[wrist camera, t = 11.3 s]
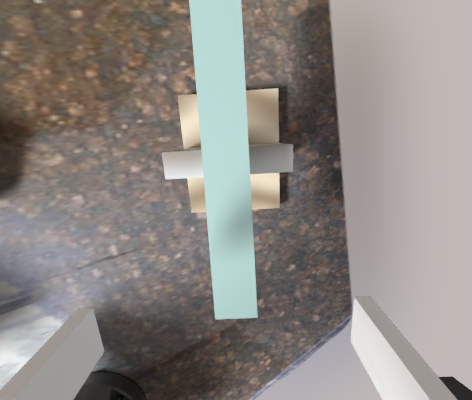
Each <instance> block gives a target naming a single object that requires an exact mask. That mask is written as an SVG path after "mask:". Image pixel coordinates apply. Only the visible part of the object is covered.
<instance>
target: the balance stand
mask: <svg viewBox="0 0 472 400" xmlns="http://www.w3.org/2000/svg"><path fill="white" fill-rule="evenodd" d="M178 103H179V112H180V120H181V128H182V137H183V145H184V149H181V150H174V151H168V152H162V158H163V165H164V172H165V179H180V178H187V179H188V187H189V196H190V204H191V213H195V212H206V201H205V188H204V176H203V164H202V151H201V139H200V126H199V114H198V102H197V94H189V95H178ZM246 104H247V123H248V143H249V162H250V181H251V200H252V209H269V208H280V182H279V173H281V172H293V144H284V143H279V102H278V88H273V89H259V90H246Z"/></svg>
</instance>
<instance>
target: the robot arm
mask: <svg viewBox="0 0 472 400" xmlns="http://www.w3.org/2000/svg"><path fill="white" fill-rule="evenodd" d="M351 344H352V345H353V347H354V349H355V351H356V353H357V354H358V356H359V358H360V360H361V362H362V364H363V365H364V367H365V369H366V371H367V372H368V374H369V376H370V378H371V380H372V382H373V384H374V385H375V387H376V389H377V391H378V392H379V394H380V396H381V398H382V399H383V400H472V391H471V390H469V389H468V388H467V387H465V386H464V385H463V384H461V383H460V382H459V381H457V380H456V379H455V378H454V377H438V376H437V375H436V374H435V373H434V371H433V370H432V369H431V368H430V367H429V366H428V364H427V363H426V362H425V361H424V360H423V358H422V357H421V356H420V355H419V354H418V352H417V351H416V350H415V349H414V348H413V347H412V345H411V344H410V343H409V342H408V341H407V339H406V338H405V337H404V336H403V335H402V333H401V332H400V331H399V330H398V329H397V328H396V326H395V325H394V324H393V323H392V322H391V320H390V319H389V318H388V317H387V316H386V315H385V313H384V312H383V311H382V310H381V309H380V307H379V306H378V305H377V304H376V303H375V302H374V300H373V299H372V298H371V297H370V296H364V297H354V306H353V318H352V331H351ZM103 353H104V348H103V344H102V340H101V336H100V333H99V329H98V325H97V321H96V318H95V314H94V310H93V308H88V309H78V310H77V311H76V312H75V313H74V314H73V315H72V316H71V317H70V318H69V319H68V320H67V321H66V322H65V323H64V324H63V325H62V327H61V328H60V329H59V330H58V331H57V332H56V333H55V334H54V335H53V336H52V337H51V338H50V339H49V340H48V341H47V342H46V343H45V344H44V345H43V346H42V347H41V348H40V349H39V351H38V352H37V353H36V354H35V355H34V356H33V357H32V358H31V359H30V360H29V361H28V362H27V363H26V364H25V365H24V366H23V367H22V368H21V369H20V370H19V371H18V372H17V374H16V375H15V376H14V377H13V378H12V379H11V380H10V381H9V382H8V383H7V384H6V385H5V386H4V387H3V388H2V389H1V390H0V400H146V399H145V396H144V394H143V392H142V391H141V389H140V388H139V387H138V386H137V385H136V384H135V383H134V382H132V381H131V380H129V379H128V378H126V377H124V376H121V375H119V374H115V373H110V372H94V373H91V372H92V370H93V368H94V367H95V365H96V364H97V362H98V361H99V359H100V357H101V356H102V354H103Z"/></svg>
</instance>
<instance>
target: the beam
mask: <svg viewBox="0 0 472 400" xmlns="http://www.w3.org/2000/svg"><path fill="white" fill-rule="evenodd" d="M189 3H190V15H191V28H192V40H193V52H194V65H195V77H196V89H197V102H198V114H199V126H200V139H201V151H202V164H203V176H204V188H205V201H206V213H207V225H208V238H209V250H210V262H211V275H212V287H213V299H214V312H215V319H239V318H258V316H257V297H256V277H255V258H254V239H253V220H252V200H251V181H250V162H249V143H248V123H247V104H246V85H245V66H244V46H243V27H242V8H241V0H189Z"/></svg>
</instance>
